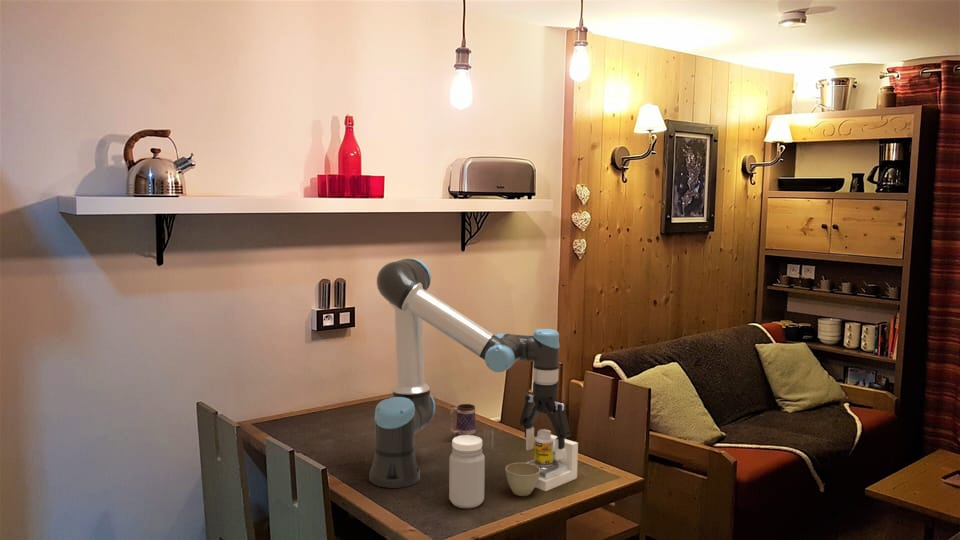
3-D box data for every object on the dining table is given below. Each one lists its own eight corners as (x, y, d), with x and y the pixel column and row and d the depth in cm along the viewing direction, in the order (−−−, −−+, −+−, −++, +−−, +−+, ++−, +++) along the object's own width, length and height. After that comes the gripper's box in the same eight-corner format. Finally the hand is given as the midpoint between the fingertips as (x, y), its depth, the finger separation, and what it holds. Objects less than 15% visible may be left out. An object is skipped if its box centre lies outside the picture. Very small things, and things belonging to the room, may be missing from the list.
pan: (545, 479, 222) (545, 473, 222) (520, 470, 229) (520, 463, 229) (567, 471, 229) (567, 464, 229) (541, 462, 236) (541, 455, 236)
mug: (468, 434, 270) (469, 401, 269) (480, 439, 265) (480, 406, 263) (444, 439, 265) (444, 405, 263) (454, 445, 259) (455, 410, 258)
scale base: (545, 491, 221) (546, 454, 220) (515, 479, 229) (515, 444, 228) (577, 478, 231) (578, 442, 230) (546, 467, 240) (547, 433, 238)
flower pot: (514, 502, 213) (514, 477, 212) (499, 488, 222) (499, 465, 222) (545, 496, 217) (546, 472, 216) (529, 483, 226) (530, 460, 226)
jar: (485, 509, 208) (486, 445, 206) (449, 510, 207) (450, 445, 205) (482, 494, 218) (483, 433, 216) (448, 495, 217) (448, 434, 215)
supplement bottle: (531, 466, 227) (532, 432, 226) (537, 459, 232) (538, 427, 231) (549, 468, 225) (550, 435, 224) (555, 462, 230) (555, 429, 229)
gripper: (584, 387, 221) (582, 461, 223) (525, 372, 237) (523, 441, 239) (568, 391, 215) (566, 467, 218) (508, 376, 232) (507, 447, 234)
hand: (543, 453), depth 228 cm, fingers open, 10 cm apart
